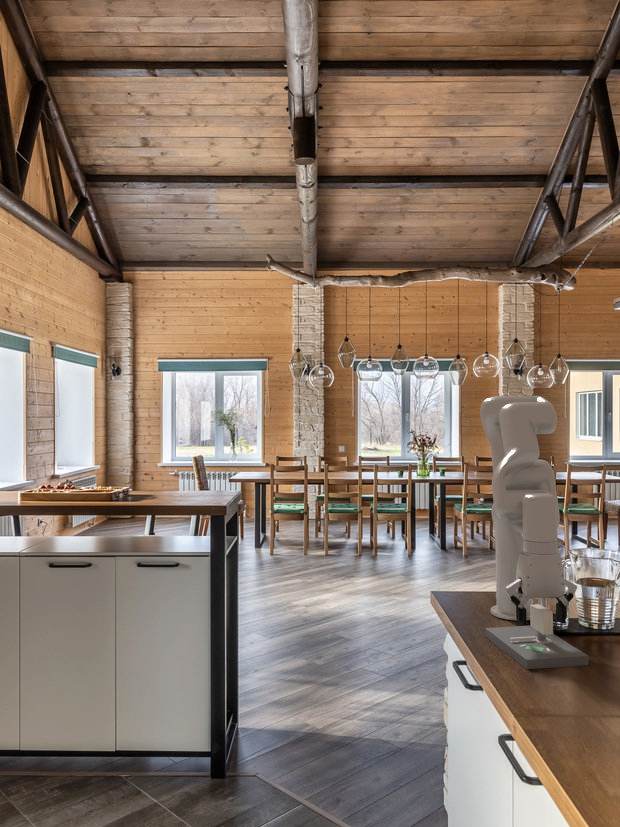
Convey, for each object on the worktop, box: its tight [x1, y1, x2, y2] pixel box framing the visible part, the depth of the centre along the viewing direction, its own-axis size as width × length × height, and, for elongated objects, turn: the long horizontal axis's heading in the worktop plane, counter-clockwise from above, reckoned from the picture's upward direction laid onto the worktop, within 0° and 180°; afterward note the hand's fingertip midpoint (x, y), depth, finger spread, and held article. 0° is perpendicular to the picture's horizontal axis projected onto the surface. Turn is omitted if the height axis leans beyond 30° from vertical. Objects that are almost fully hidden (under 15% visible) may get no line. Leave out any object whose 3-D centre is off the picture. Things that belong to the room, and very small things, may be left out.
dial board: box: [484, 625, 590, 670], centre depth 153 cm, size 22×14×2 cm, turn 8°
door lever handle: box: [510, 603, 554, 641], centre depth 153 cm, size 6×9×7 cm
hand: (541, 623), depth 153 cm, fingers open, 9 cm apart
